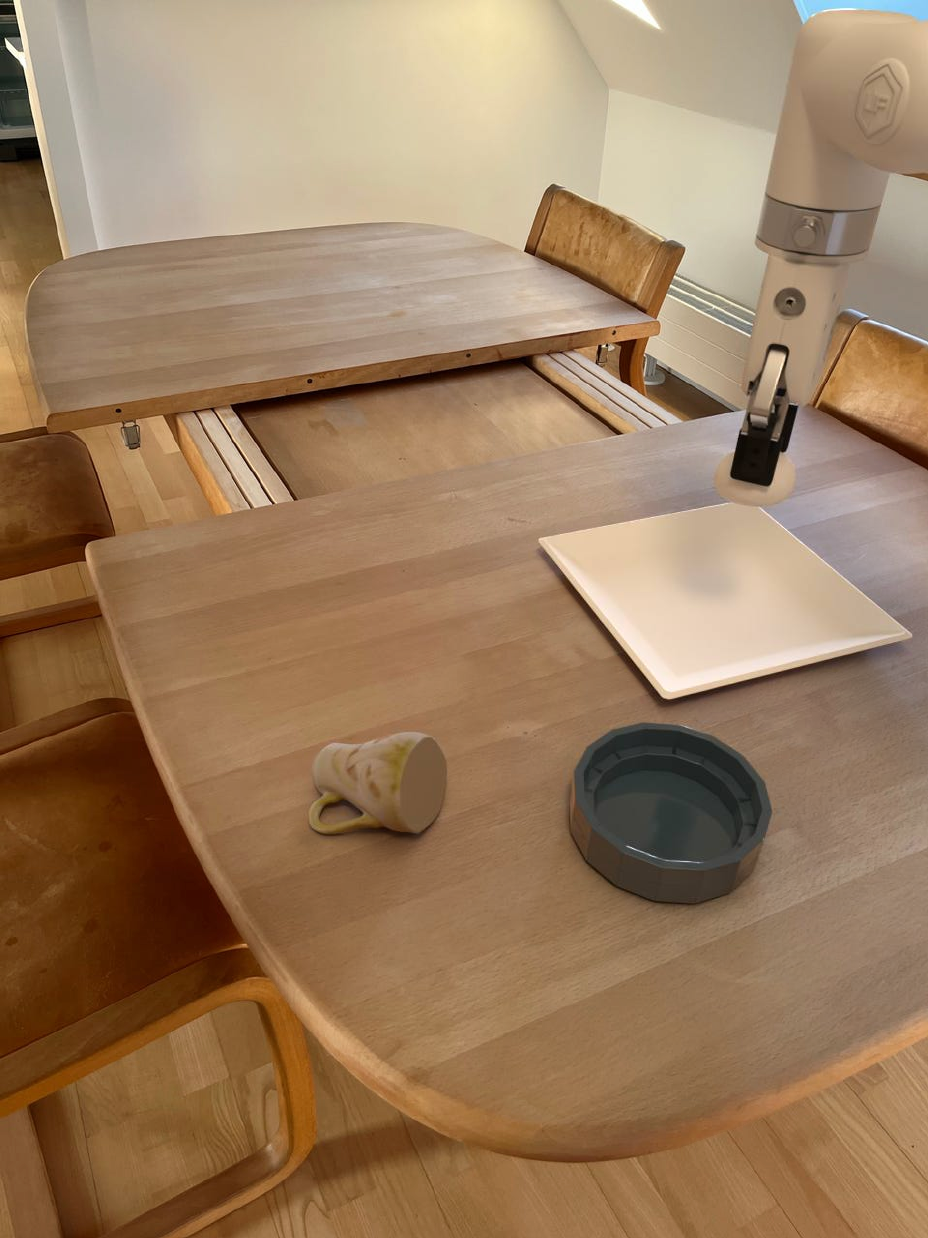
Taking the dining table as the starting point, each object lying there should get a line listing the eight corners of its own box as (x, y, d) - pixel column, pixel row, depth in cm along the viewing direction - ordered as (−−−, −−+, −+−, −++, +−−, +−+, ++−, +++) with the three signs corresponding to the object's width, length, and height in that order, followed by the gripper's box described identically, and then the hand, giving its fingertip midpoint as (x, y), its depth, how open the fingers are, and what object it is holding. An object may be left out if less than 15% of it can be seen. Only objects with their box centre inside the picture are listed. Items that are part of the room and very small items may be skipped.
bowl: (775, 796, 72) (787, 760, 69) (733, 937, 62) (746, 900, 60) (605, 737, 76) (610, 701, 74) (541, 860, 67) (545, 823, 64)
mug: (331, 751, 75) (392, 672, 69) (418, 838, 73) (487, 764, 68) (273, 796, 69) (335, 712, 63) (367, 891, 67) (438, 814, 62)
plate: (746, 512, 106) (750, 496, 104) (908, 652, 86) (915, 634, 85) (535, 553, 98) (536, 536, 97) (661, 716, 79) (665, 698, 77)
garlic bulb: (749, 523, 73) (772, 429, 68) (695, 488, 77) (712, 397, 72) (806, 503, 76) (832, 411, 71) (751, 470, 80) (771, 381, 75)
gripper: (856, 268, 56) (786, 526, 67) (886, 205, 69) (823, 431, 80) (732, 250, 59) (684, 501, 70) (783, 192, 71) (735, 413, 82)
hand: (759, 462), depth 75 cm, fingers closed on garlic bulb, 5 cm apart
